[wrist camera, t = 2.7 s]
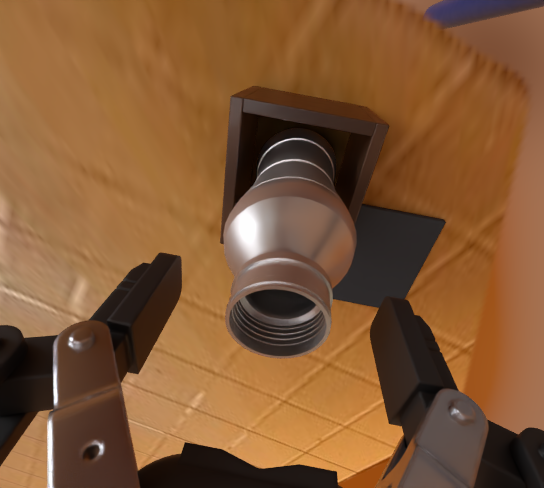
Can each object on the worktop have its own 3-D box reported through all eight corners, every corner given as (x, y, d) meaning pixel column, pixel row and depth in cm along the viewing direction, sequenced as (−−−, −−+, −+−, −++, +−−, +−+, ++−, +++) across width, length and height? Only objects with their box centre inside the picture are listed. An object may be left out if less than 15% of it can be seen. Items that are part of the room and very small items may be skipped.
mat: (321, 195, 29) (321, 198, 28) (443, 219, 29) (446, 222, 28) (296, 288, 35) (296, 292, 35) (396, 308, 35) (397, 311, 34)
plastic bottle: (251, 133, 26) (147, 265, 9) (328, 112, 25) (367, 227, 8) (271, 199, 29) (218, 387, 13) (339, 184, 28) (386, 376, 11)
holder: (252, 85, 24) (230, 95, 18) (367, 107, 24) (390, 125, 17) (240, 202, 30) (219, 243, 23) (333, 220, 30) (340, 267, 23)
